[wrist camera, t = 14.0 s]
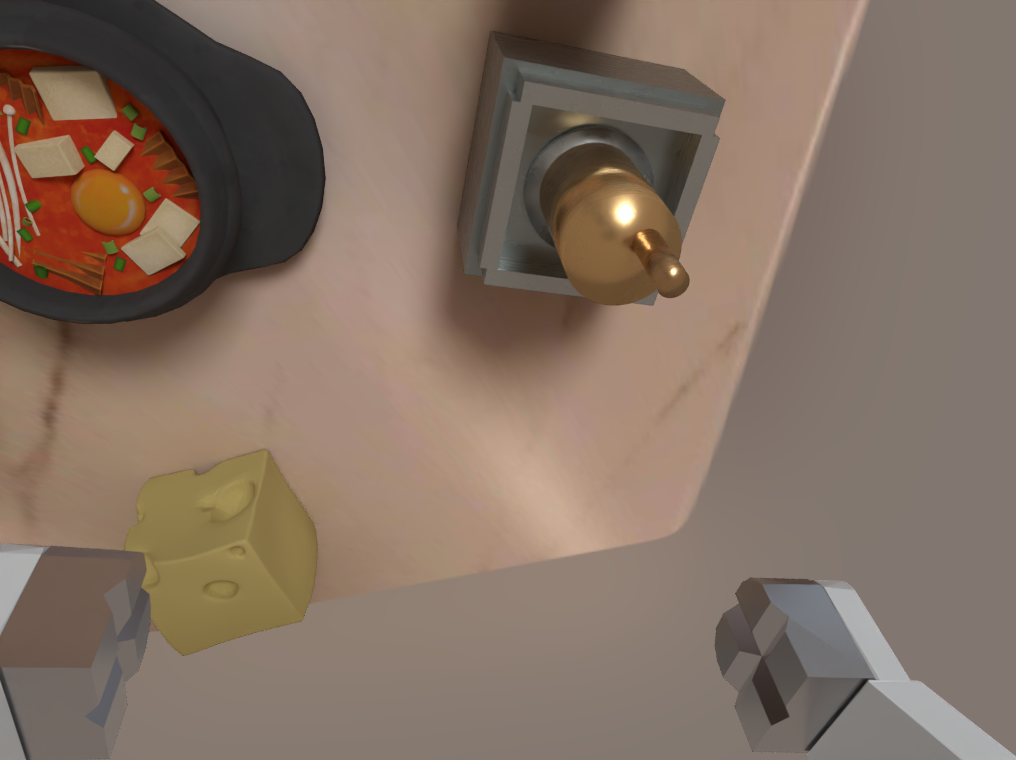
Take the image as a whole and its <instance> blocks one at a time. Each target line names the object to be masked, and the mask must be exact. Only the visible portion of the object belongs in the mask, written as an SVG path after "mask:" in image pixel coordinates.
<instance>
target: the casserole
mask: <svg viewBox="0 0 1016 760" xmlns="http://www.w3.org/2000/svg"><path fill="white" fill-rule="evenodd" d="M325 179H326V178H325V167H324V156H323V147H322V144H321V140H320V137H319V133H318V130H317V126H316V122H315V119H314V117H313V115H312V113H311V111H310V109H309V107H308V105H307V103H306V101H305V99H304V97H303V95H302V93H301V92H300V91H299V90H298V89H297V88H296V87H295V86H294V85H293V84H292V83H291V82H290V81H289V80H288V79H287V78H286V77H285V76H284V75H283V74H282V73H281V72H280V71H278V70H276V69H274V68H272V67H270V66H268V65H266V64H264V63H262V62H260V61H258V60H256V59H254V58H252V57H250V56H248V55H246V54H243V53H241V52H239V51H236V50H234V49H232V48H230V47H227V46H225V45H223V44H220V43H218V42H216V41H214V40H213V39H211V38H210V37H208V36H207V35H206V34H204V33H203V32H201V31H200V30H198V29H197V28H195V27H194V26H192V25H191V24H189V23H188V22H186V21H185V20H183V19H182V18H180V17H179V16H177V15H176V14H174V13H173V12H171V11H170V10H168V9H167V8H165V7H164V6H162V5H161V4H159V3H158V2H156V1H155V0H0V301H2V302H4V303H7V304H9V305H11V306H13V307H16V308H18V309H20V310H22V311H25V312H29V313H32V314H36V315H39V316H43V317H46V318H49V319H53V320H59V321H66V322H73V323H80V324H111V323H116V322H122V321H133V320H138V319H144V318H149V317H155V316H158V315H161V314H163V313H166V312H169V311H171V310H174V309H176V308H179V307H181V306H183V305H185V304H186V303H188V302H189V301H191V300H192V299H194V298H195V297H197V296H198V295H200V294H202V293H203V292H204V291H205V290H206V289H207V288H208V287H209V286H210V285H211V284H212V283H213V282H214V281H215V280H216V279H217V278H219V277H222V276H224V275H227V274H229V273H233V272H238V271H244V270H250V269H255V268H260V267H265V266H269V265H273V264H278V263H282V262H285V261H287V260H288V259H289V258H291V257H292V256H294V255H295V254H296V253H298V252H299V251H301V250H302V249H303V247H304V246H305V244H306V243H307V241H308V239H309V238H310V236H311V235H312V233H313V232H314V229H315V226H316V223H317V220H318V218H319V215H320V212H321V209H322V204H323V196H324V187H325Z"/></svg>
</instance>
